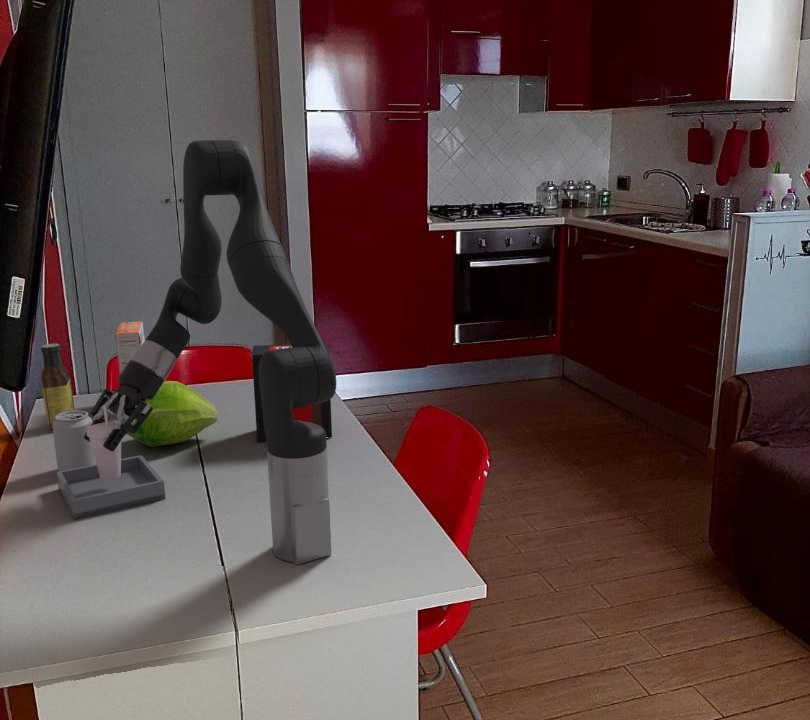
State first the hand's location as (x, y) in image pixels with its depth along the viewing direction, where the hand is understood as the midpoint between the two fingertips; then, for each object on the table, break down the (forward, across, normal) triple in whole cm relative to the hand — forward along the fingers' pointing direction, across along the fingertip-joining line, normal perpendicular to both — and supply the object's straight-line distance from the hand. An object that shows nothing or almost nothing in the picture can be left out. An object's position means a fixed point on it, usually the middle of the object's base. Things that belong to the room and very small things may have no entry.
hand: (97, 444), depth 149 cm
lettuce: (-10, -15, +26) cm, 31 cm away
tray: (+6, 0, +8) cm, 10 cm away
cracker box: (-17, -45, +32) cm, 58 cm away
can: (+5, -16, +10) cm, 20 cm away
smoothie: (+4, 0, +6) cm, 7 cm away
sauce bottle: (-3, -45, +18) cm, 49 cm away
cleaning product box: (-25, +2, +40) cm, 47 cm away
